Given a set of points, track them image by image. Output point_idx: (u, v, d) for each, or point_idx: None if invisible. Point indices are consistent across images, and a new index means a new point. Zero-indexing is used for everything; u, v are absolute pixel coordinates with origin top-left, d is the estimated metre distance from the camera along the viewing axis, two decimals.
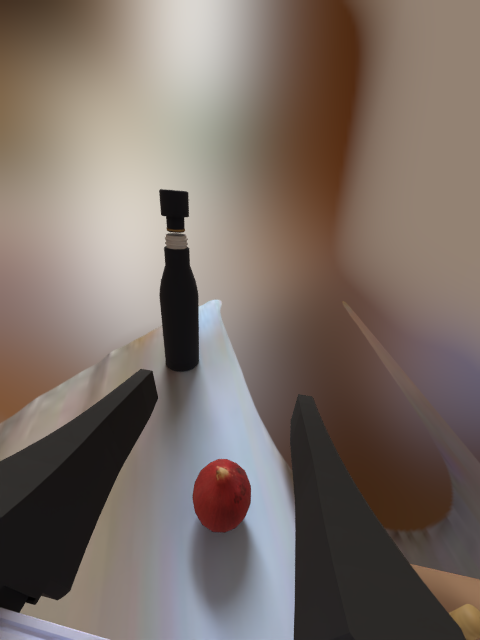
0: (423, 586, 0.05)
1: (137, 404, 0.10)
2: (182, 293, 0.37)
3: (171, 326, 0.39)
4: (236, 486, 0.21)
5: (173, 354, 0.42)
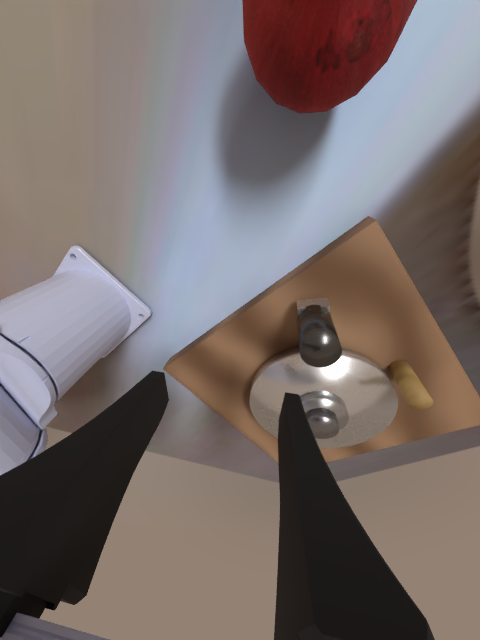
0: (393, 579, 0.05)
1: (150, 406, 0.10)
2: None
3: None
4: (349, 15, 0.06)
5: None
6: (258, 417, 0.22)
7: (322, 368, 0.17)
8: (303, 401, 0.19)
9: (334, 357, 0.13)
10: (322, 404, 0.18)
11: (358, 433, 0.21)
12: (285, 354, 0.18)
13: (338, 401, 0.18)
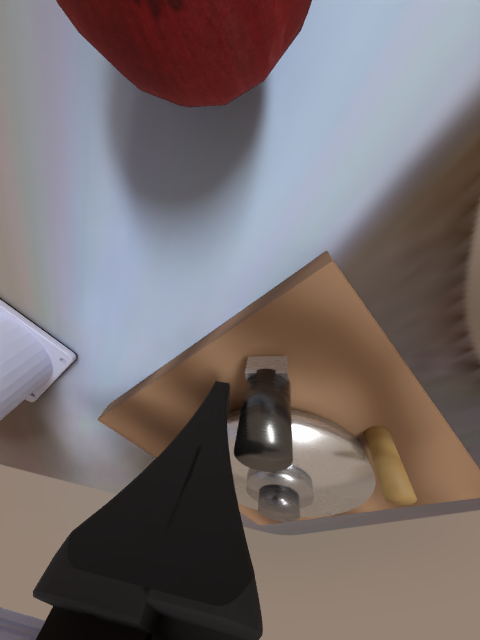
0: (240, 543, 0.05)
1: None
2: None
3: None
4: None
5: None
6: None
7: None
8: (258, 474, 0.15)
9: (282, 463, 0.09)
10: (280, 481, 0.14)
11: (327, 506, 0.17)
12: (236, 415, 0.14)
13: (301, 477, 0.14)
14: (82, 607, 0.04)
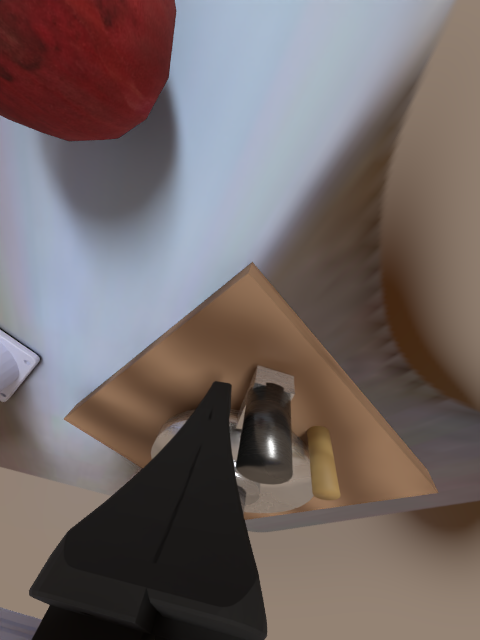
0: (244, 544, 0.05)
1: None
2: None
3: None
4: None
5: None
6: None
7: None
8: None
9: (278, 479, 0.09)
10: None
11: (260, 506, 0.19)
12: None
13: None
14: (78, 606, 0.04)
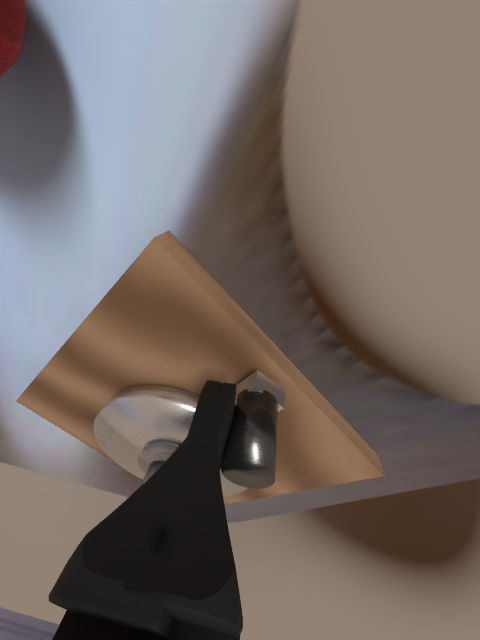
0: (223, 539, 0.05)
1: (228, 420, 0.10)
2: None
3: None
4: None
5: None
6: (99, 425, 0.16)
7: None
8: (167, 450, 0.15)
9: (254, 485, 0.10)
10: None
11: None
12: (192, 398, 0.14)
13: None
14: (100, 612, 0.04)
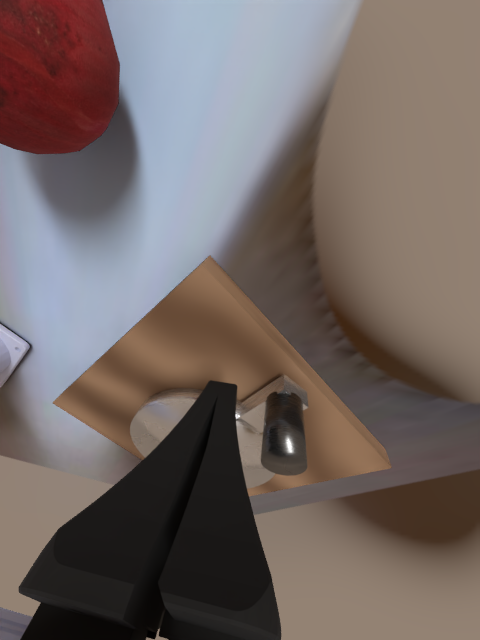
0: (256, 547, 0.05)
1: None
2: None
3: None
4: None
5: None
6: (136, 424, 0.18)
7: (243, 434, 0.16)
8: None
9: (288, 472, 0.11)
10: None
11: None
12: None
13: None
14: (66, 602, 0.04)
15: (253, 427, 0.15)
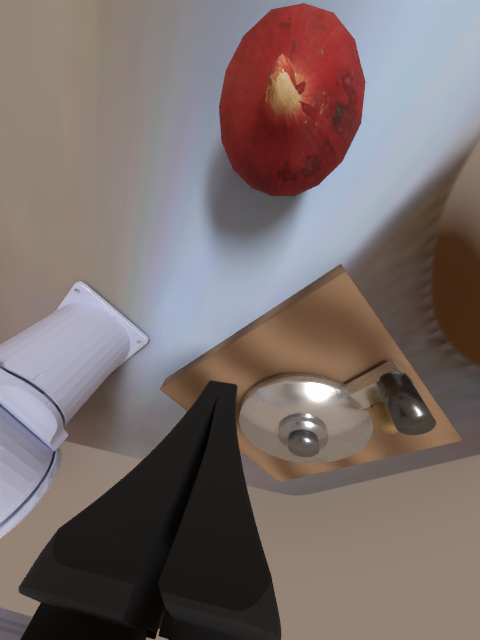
0: (256, 547, 0.05)
1: None
2: None
3: None
4: (298, 154, 0.08)
5: None
6: (249, 404, 0.21)
7: (347, 410, 0.19)
8: (309, 421, 0.20)
9: (415, 432, 0.15)
10: (319, 432, 0.20)
11: None
12: (333, 381, 0.19)
13: None
14: (66, 602, 0.04)
15: (359, 404, 0.19)
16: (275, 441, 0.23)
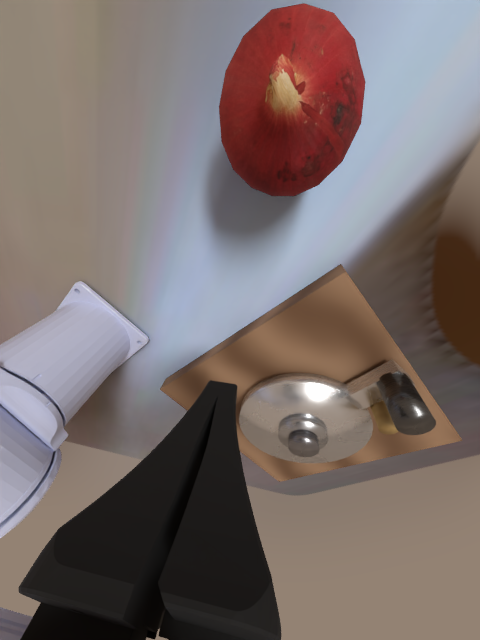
0: (256, 547, 0.05)
1: None
2: None
3: None
4: (298, 154, 0.08)
5: None
6: (249, 404, 0.21)
7: (347, 410, 0.19)
8: (309, 421, 0.20)
9: (415, 432, 0.15)
10: (319, 432, 0.20)
11: None
12: (333, 381, 0.19)
13: None
14: (66, 602, 0.04)
15: (359, 404, 0.19)
16: (275, 441, 0.23)
